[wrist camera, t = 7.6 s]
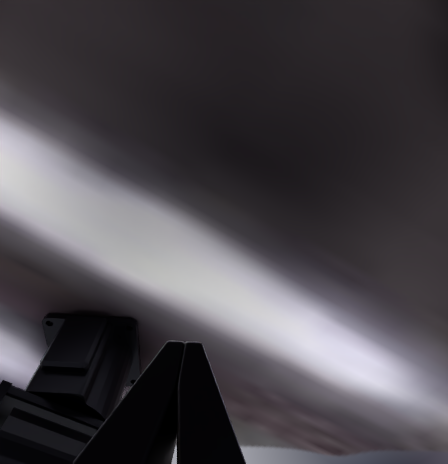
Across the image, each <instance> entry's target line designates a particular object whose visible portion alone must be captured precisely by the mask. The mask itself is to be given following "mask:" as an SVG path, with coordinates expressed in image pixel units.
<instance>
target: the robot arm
mask: <svg viewBox="0 0 448 464" xmlns="http://www.w3.org/2000/svg"><path fill="white" fill-rule="evenodd" d="M50 321H51V322H50ZM42 325H43V329H44V333H45V337H46V341H47V345H48V349H47V351H46V353H45V355H44V356H43V358H42V360H41V361H40V365H39V366H38V368H37V370H36V372H35V373H34V375H33V377H32V378H31V380H30V382H29V384H28V385H27V387H26V389H25V390H22V389H20V388H17V387H15V386H12V383H9V382H7V381H4V380H3V381H2V382H1V384H0V464H171V462H172V458H173V453H174V449H175V444H176V439H177V464H246V462H245V459H244V457H243V454H242V451H241V448H240V446H239V443H238V440H237V437H236V435H235V432H234V429H233V426H232V424H231V421H230V418H229V415H228V413H227V410H226V407H225V404H224V401H223V399H222V396H221V393H220V390H219V388H218V385H217V382H216V379H215V377H214V374H213V371H212V368H211V366H210V363H209V360H208V357H207V355H206V352H205V349H204V346H203V344H202V343H201V342H190V341H187V342H186V343H184V342H183V341H172V340H169V341H167V342H166V343H165V344H164V346H163V347H162V348H161V350H160V351H159V352H158V353H157V355H156V356H155V357H154V359H153V360H152V361H151V362H150V364H149V365H148V366H147V368H146V369H145V370H144V371H143V373H142V374H141V364H140V351H139V338H138V325H137V322H136V321H135V320H134V319H130V318H113V317H95V316H78V315H60V314H47V315H46V316H45V317H44V319H43V320H42ZM128 325H130V326H132V327H130V326H128ZM125 386H132V387H131V388H130V389H129V391H128V392H127V393H126V395H125V396H124V397H123V398H122V395H123V391H124V388H125ZM121 398H122V400H121Z"/></svg>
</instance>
